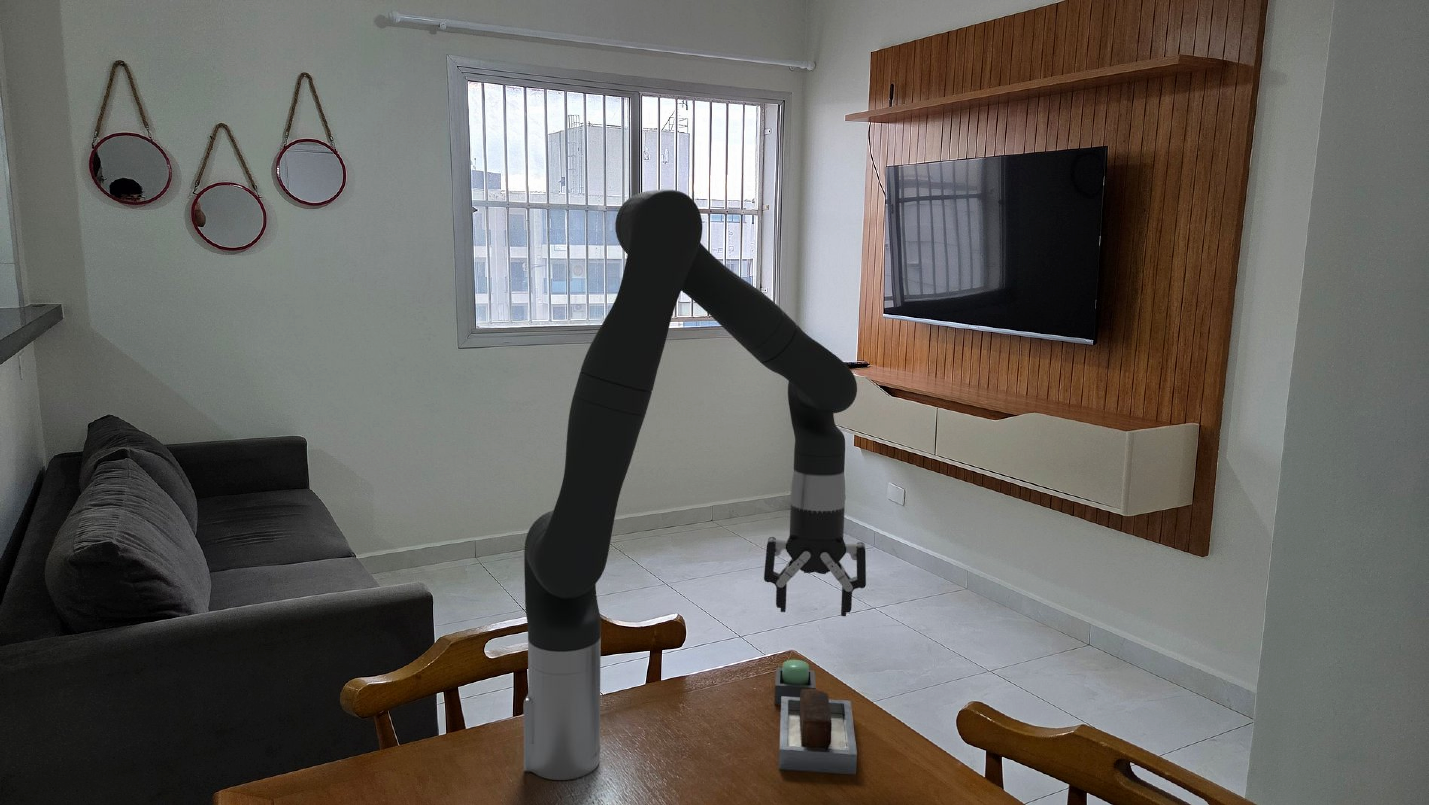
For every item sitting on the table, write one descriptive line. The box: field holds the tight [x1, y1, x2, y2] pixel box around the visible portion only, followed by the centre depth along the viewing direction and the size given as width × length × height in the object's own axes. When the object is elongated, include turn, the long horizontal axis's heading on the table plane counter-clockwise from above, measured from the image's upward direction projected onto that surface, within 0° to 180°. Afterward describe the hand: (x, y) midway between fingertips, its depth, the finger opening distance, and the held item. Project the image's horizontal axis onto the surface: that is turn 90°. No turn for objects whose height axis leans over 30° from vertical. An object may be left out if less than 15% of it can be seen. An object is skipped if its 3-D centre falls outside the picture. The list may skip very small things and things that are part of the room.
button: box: [782, 659, 810, 685], centre depth 143 cm, size 4×4×2 cm
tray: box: [778, 696, 858, 776], centre depth 130 cm, size 10×15×3 cm, turn 175°
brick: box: [799, 689, 832, 749], centre depth 130 cm, size 11×4×5 cm, turn 177°
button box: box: [774, 667, 817, 706], centre depth 144 cm, size 6×6×3 cm
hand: (813, 612), depth 134 cm, fingers open, 8 cm apart
